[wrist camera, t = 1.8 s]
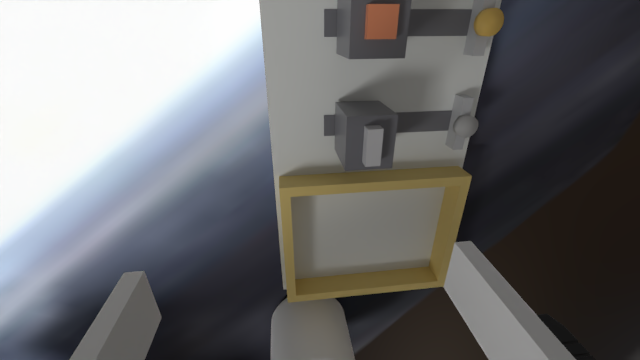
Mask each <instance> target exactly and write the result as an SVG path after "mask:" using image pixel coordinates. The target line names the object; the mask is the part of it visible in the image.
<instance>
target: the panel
mask: <svg viewBox="0 0 640 360" xmlns="http://www.w3.org/2000/svg"><path fill="white" fill-rule="evenodd" d="M501 1H502V0H412V2H411V11H410V19H409V28H408V37H407V45H406V54H405V58H395V59H347V58H345V57H343V56H341V55H338V54H336V49H337V0H259V2H260V15H261V27H262V39H263V51H264V63H265V75H266V87H267V99H268V111H269V123H270V135H271V147H272V159H273V171H274V184H275V196H276V208H277V220H278V232H279V244H280V256H281V268H282V280H283V290H284V289H287V300H288V303H290V302H300V301H309V300H319V299H329V298H338V297H348V296H357V295H367V294H376V293H386V292H396V291H405V290H415V289H424V288H434V287H443V286H444V284H445V280H446V275H447V271H448V267H449V263H450V259H451V255H452V251H453V247H454V243H455V242H456V238H457V234H458V230H459V226H460V222H461V218H462V214H463V210H464V206H465V202H466V198H467V194H468V190H469V186H470V182H471V178H472V176H471V175H470V174H469V173H467V172H466V171H465V170H463V169H462V168H463V164H464V159H465V155H466V151H467V147H468V142H469V138H470V136H472V135H473V134H474V133H475V132H476V131H477V129H478V120H477V119H476V118H475V112H476V108H477V104H478V99H479V95H480V91H481V87H482V82H483V78H484V74H485V70H486V65H487V61H488V57H489V52H490V48H491V44H492V40H493V35H495V34H496V33H498V32H499V30H500V29H501V27H502V25H503V22H504V15H503V12H502V11H501V10H500V5H501ZM349 101H380V102H382V103H383V104H384V105H386V106H387V107H388V108H390V109H391V110H393V111H394V112H395V113H397V114H398V122H397V131H396V140H395V148H394V157H393V165H392V168H390V169H372V170H355V171H345V170H344V168H343V166H342V164H341V162H340V160H339V157H338V155H337V153H336V151H335V102H349Z"/></svg>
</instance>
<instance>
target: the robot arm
mask: <svg viewBox="0 0 640 360" xmlns="http://www.w3.org/2000/svg"><path fill="white" fill-rule="evenodd" d="M444 289H445V290H446V292H447V293H448V295H449V297H450V298H451V300H452V301H453V303H454V305H455V306H456V308H457V309H458V311H459V312H460V314H461V316H462V317H463V319H464V321H465V322H466V324H467V325H468V327H469V329H470V330H471V332H472V333H473V335H474V337H475V338H476V340H477V341H478V343H479V345H480V346H481V348H482V349H483V351H484V353H485V354H486V356H487V357H488V359H489V360H596V359H595V358H594V357H593V356H590V354H589V352H588V351H587V350H586V349H585V348H584V347H583V346H582V344H581V343H578V340H577V339H576V338H575V337H574V336H573V335H572V334H571V333H570V332H569V331H568V330H567V329H566V328H565V327H564V326H563V325H562V324H560V323H559V322H557V321H556V320H555V319H553V318H552V317H551V316H549V315H548V314H541V315H536V314H535V313H534V312H533V311H532V309H531V308H530V307H529V306H528V305H527V304H526V303H525V302H524V300H523V299H522V298H521V297H520V296H519V295H518V294H517V292H515V290H514V289H513V288H512V287H511V286H510V285H509V283H508V282H507V281H506V280H505V279H504V278H503V277H502V276H501V274H500V273H499V272H498V271H497V270H496V269H495V268H494V266H493V265H492V264H491V263H490V262H489V261H488V260H487V259H486V257H485V256H484V255H483V254H482V253H481V252H480V251H479V250H478V248H477V247H476V246H475V245H474V244H473V243H472V242H471V241H465V242H455V243H454V247H453V251H452V255H451V259H450V263H449V267H448V271H447V275H446V280H445V284H444ZM161 318H162V317H161V314H160V311H159V309H158V306H157V303H156V301H155V298H154V296H153V293H152V290H151V288H150V285H149V282H148V280H147V277H146V274H145V272H144V271H138V272H127V273H124V274H123V275H122V277H121V278H120V280H119V281H118V283H117V285H116V286H115V288H114V289H113V291H112V293H111V294H110V296H109V297H108V299H107V301H106V302H105V304H104V305H103V307H102V309H101V310H100V312H99V313H98V315H97V316H96V318H95V320H94V321H93V323H92V324H91V326H90V328H89V329H88V331H87V332H86V334H85V336H84V337H83V339H82V340H81V342H80V344H79V345H78V347H77V348H76V350H75V351H74V353H73V355H72V356H71V358H70V359H69V360H145V358H146V355H147V353H148V350H149V348H150V346H151V343H152V341H153V338H154V336H155V333H156V331H157V328H158V326H159V323H160V321H161Z"/></svg>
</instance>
